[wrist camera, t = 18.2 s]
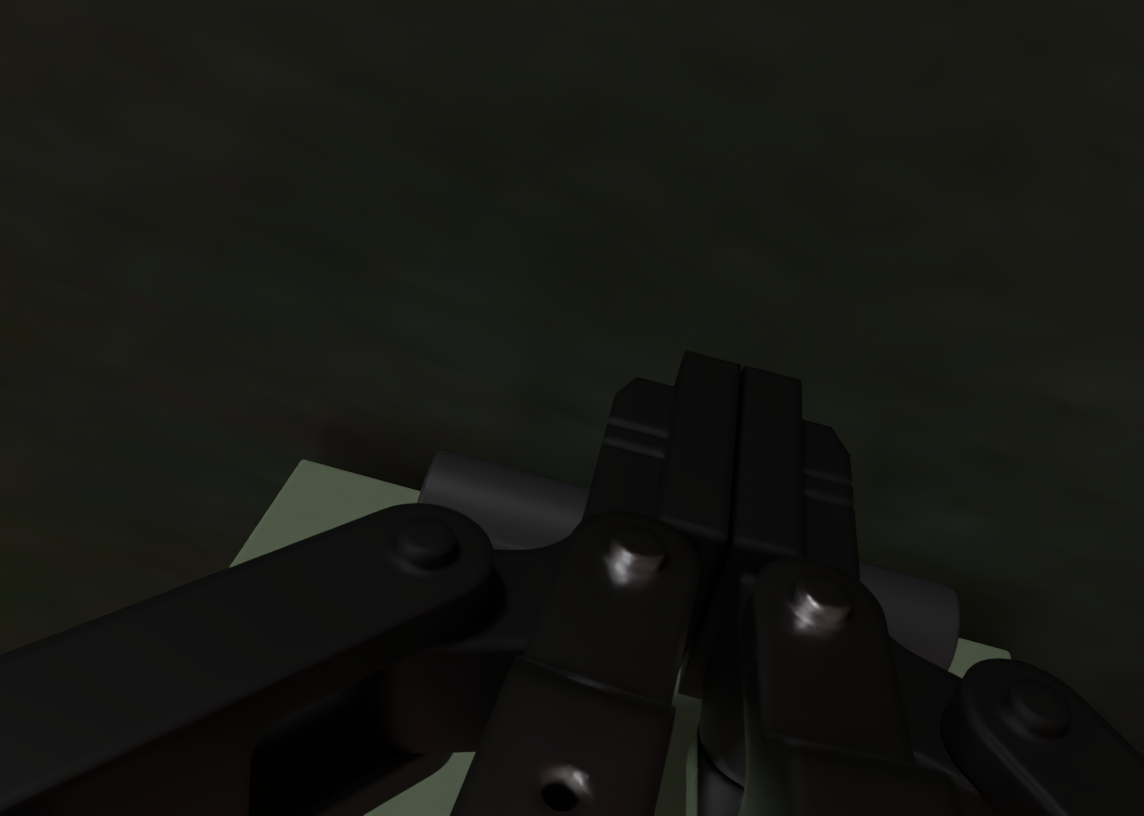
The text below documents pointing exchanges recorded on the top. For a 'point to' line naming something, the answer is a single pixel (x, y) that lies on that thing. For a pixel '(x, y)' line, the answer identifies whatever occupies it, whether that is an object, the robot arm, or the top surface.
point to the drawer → (543, 517)
